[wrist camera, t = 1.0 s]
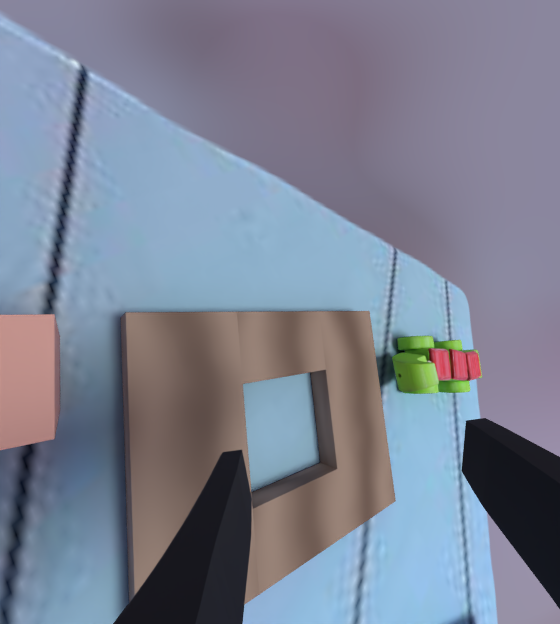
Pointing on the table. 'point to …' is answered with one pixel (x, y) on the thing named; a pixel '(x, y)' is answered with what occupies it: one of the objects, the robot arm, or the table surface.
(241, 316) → the jig board
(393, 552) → the table surface
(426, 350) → the toy crocodile
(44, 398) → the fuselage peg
